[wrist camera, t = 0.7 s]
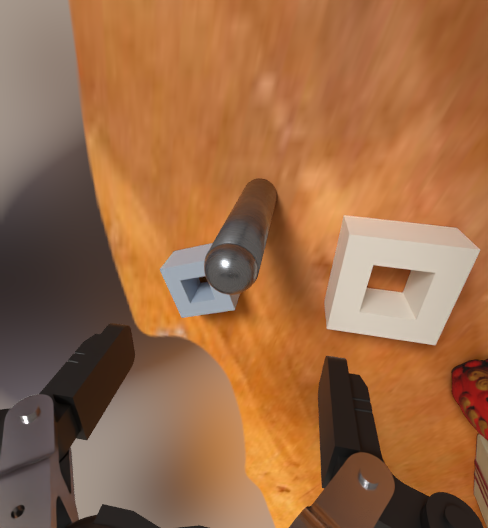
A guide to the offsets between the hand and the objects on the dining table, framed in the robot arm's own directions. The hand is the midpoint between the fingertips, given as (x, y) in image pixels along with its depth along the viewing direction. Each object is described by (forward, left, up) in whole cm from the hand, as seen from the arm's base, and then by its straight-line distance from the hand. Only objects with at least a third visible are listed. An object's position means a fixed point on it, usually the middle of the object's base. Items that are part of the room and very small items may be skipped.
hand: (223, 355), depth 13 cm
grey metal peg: (0, -1, -20) cm, 20 cm away
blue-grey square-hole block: (+9, -6, -20) cm, 23 cm away
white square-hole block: (+6, +12, -20) cm, 24 cm away
